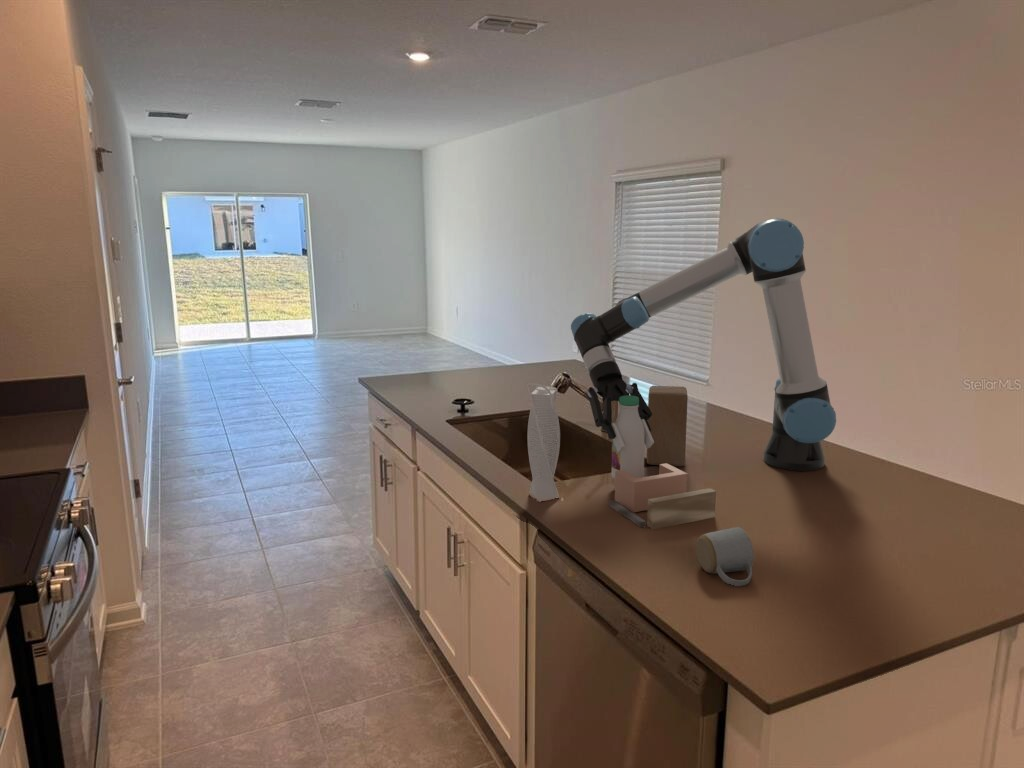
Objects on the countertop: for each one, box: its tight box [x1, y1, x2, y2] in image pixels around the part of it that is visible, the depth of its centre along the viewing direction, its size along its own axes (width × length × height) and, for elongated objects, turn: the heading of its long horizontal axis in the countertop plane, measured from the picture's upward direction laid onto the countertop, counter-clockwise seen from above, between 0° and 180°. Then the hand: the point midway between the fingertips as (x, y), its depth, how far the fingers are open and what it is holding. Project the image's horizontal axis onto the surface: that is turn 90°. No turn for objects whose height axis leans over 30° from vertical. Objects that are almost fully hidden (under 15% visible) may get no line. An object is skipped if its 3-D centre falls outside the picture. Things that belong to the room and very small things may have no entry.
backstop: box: [608, 487, 717, 530], centre depth 154 cm, size 15×19×6 cm
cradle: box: [614, 463, 688, 513], centre depth 159 cm, size 8×14×7 cm, turn 113°
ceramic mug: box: [695, 526, 755, 587], centre depth 125 cm, size 11×8×8 cm
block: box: [646, 385, 689, 467], centre depth 187 cm, size 10×10×20 cm
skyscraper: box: [526, 382, 561, 500], centre depth 161 cm, size 8×7×28 cm
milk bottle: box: [611, 394, 645, 480], centre depth 166 cm, size 8×8×20 cm
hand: (636, 447), depth 163 cm, fingers closed on milk bottle, 7 cm apart
